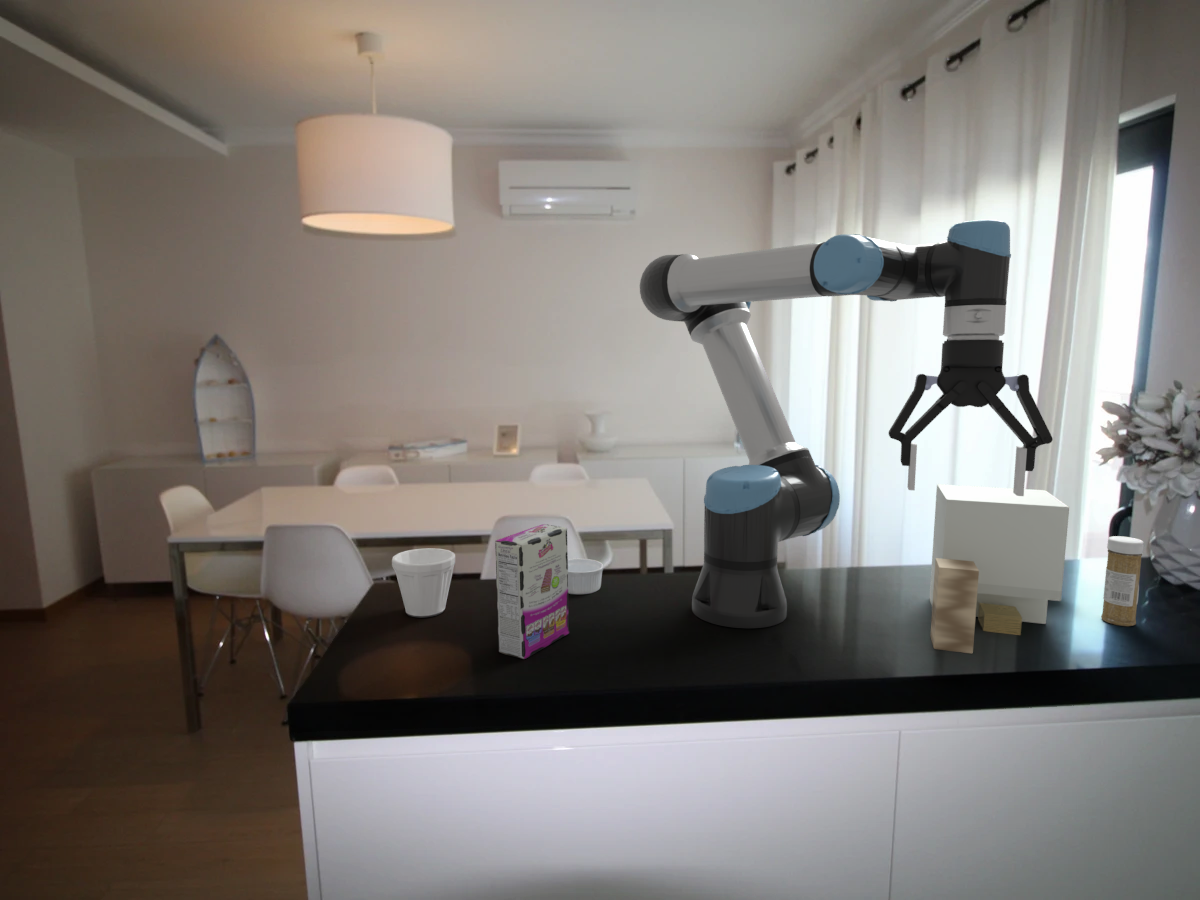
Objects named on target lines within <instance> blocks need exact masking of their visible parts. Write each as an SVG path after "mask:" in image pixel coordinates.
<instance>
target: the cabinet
mask: <svg viewBox="0 0 1200 900" xmlns="http://www.w3.org/2000/svg"><path fill="white" fill-rule="evenodd" d="M1013 489H1014V487H1013V488H1011V487H1010V488H1009V487H996V486H995V487H993V486H975V485H974V486H973V485H957V484H939V483H936V493H935V495H936V496H935V510H934V524H933V539H932V542H933V543H932V555H931V567H930V568H931V569H930V570H931V573H930V584H929V585H930V587H929V602H930V604H931V605H930V606H932V604H933V589H934V574H935V559H936V558H941V559H953V560H965V561H974V563H975V565H976V567H977V568H978V570H979V576H978V590H977V603H976V617H978V616H979V604H980V603H985V604H995V605H1004V606H1014V607H1016V609H1017V610H1018V612H1019V613H1020V615H1021V617H1022V623H1023V622H1024V623H1033V624H1042V625H1046V624H1047V614H1048V613H1047V612H1048V604H1049V601H1055V602H1061V601H1062V594H1063V582H1064V573H1065V571H1064V570H1065V561H1066V552H1067V551H1066V549H1067V539H1068V538H1067V537H1068V528H1069V527H1068V525H1069V516H1070V506H1068V505H1067V504H1066V503H1065V502H1063V501H1061V500H1060V499H1058V498H1057V497H1056V496H1054V495H1053V494H1052V493H1050V492H1048V491H1047V490H1045V489H1029V488H1024V496H1017V495H1016V494H1014V493H1013ZM976 617H975V618H976Z"/></svg>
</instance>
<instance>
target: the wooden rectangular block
mask: <svg viewBox="0 0 1200 900" xmlns="http://www.w3.org/2000/svg"><path fill="white" fill-rule="evenodd" d="M978 576H979V570H978V568H977V567H976V565H975V563H974V561H965V560H953V559H941V558H936V559H935V574H934V589H933V604H932V605H931V621H930V623H931V625H930V634H929V635H930V636H929V637H930V640H931V644H932V647H933V649H934V650H939V651H940V650H941V651H948V652H957V653H965V654H973V652H974V643H975V642H974V641H975V627H976V603H977V590H978Z"/></svg>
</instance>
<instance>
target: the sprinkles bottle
mask: <svg viewBox="0 0 1200 900" xmlns="http://www.w3.org/2000/svg"><path fill="white" fill-rule="evenodd" d="M1144 544H1145V542H1144V541H1143V540H1141V539H1140V538H1134V537H1130V536H1123V535H1122V536H1120V535H1117V536H1116V535H1115V536H1114V535H1113V536H1109V537H1108V539H1107V544H1106V545H1107V546H1106V548H1107V562H1106V568H1105V580H1104V587H1103V598H1102V599H1103V604H1102V614H1101V616H1100V617H1101V619H1102V620H1103V621H1104V622H1106V623H1108V624H1111V625H1114V626H1120V627H1132V626H1135V625H1137V620H1136V617H1137V609H1138V608H1137V607H1138V606H1137V605H1138V602H1139V591H1140V577H1141V564H1142V556H1143V554H1144V551H1145V550H1144V549H1145V545H1144Z"/></svg>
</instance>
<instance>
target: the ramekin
mask: <svg viewBox="0 0 1200 900" xmlns="http://www.w3.org/2000/svg"><path fill="white" fill-rule="evenodd" d="M603 571H604V564H603V563H602V562H600V561H598V560H595V559H589V558H568V595H569V594H570V595H589V594H593V593H596V592H597V591H599V590H600V589H601V586H602V576H603Z"/></svg>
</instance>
